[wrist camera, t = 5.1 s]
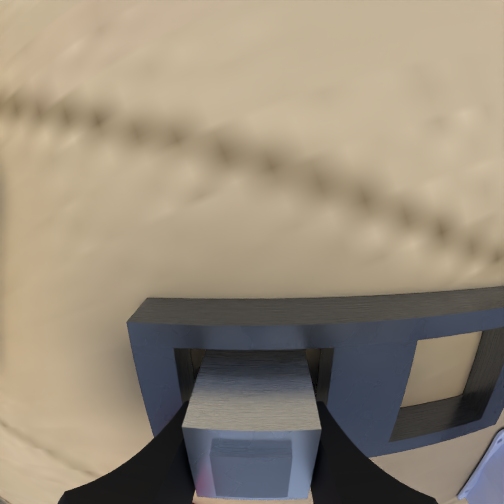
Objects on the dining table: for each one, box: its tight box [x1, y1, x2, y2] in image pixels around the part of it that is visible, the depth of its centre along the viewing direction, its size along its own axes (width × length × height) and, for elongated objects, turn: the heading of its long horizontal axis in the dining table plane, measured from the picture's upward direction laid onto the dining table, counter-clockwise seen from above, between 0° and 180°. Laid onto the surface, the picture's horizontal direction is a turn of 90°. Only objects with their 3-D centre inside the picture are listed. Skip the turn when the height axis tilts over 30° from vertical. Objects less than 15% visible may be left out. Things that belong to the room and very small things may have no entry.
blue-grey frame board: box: [127, 286, 504, 458], centre depth 13 cm, size 8×19×2 cm, turn 91°
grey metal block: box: [182, 349, 321, 500], centre depth 11 cm, size 4×4×5 cm
